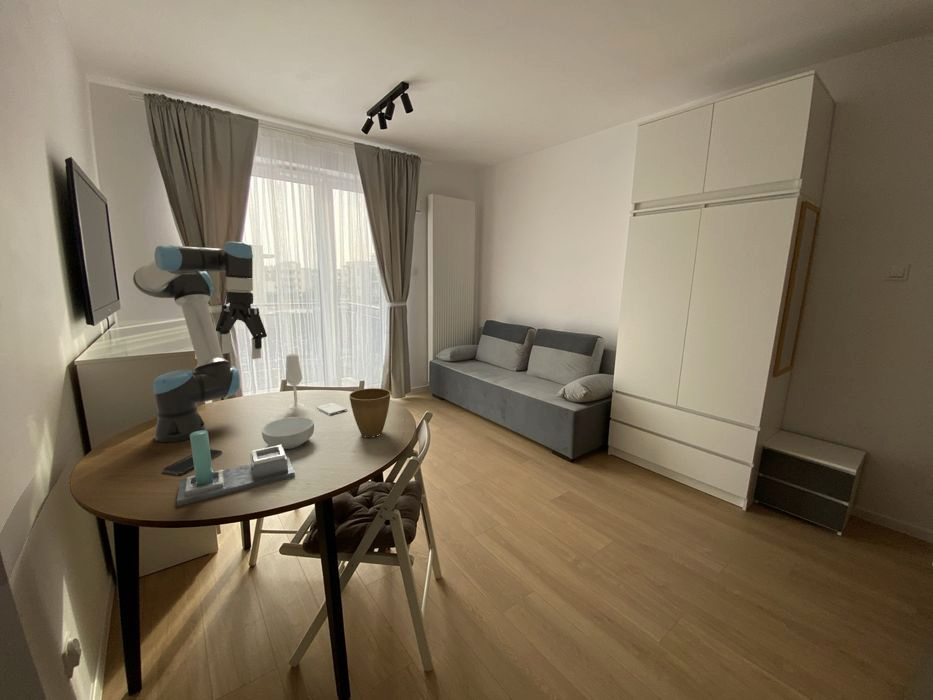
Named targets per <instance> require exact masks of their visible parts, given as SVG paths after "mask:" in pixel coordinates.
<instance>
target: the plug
mask: <svg viewBox="0 0 933 700" xmlns="http://www.w3.org/2000/svg"><path fill="white" fill-rule="evenodd" d="M189 440H190V447H191V448H190V449H191V455H193V463H194V476H195V477H196V484H197V487H199V486H203V485H208V484H212V483H214V477H213V463H212V460H211V454H210V449H211V448H210V437H209V431H208V430H201V431H196V432H193V433H191V434H190V439H189Z"/></svg>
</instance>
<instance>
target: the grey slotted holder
mask: <svg viewBox="0 0 933 700" xmlns="http://www.w3.org/2000/svg"><path fill="white" fill-rule="evenodd" d="M249 456H250V464H246V465H242V466H238V467H237V466H236V467H233V468H229V469H228V468H227V469H224V470H223V469H219V470H214V471H213V477H214V483H212V484H208V485H203V486H199V487H197V484H196V477H195V475H191V476H186V478H182V479H180V480H179V486H178V492H177V498H176V506H177V507H181V506H184V505H188V504H189V505H190V504H192V503H196V502H200V501H205V500H209V499H212V498H215V497H221V496H225V495H228V494H232V493H235V492H240V491H244V490H248V489H251V488H256V487H260V486H263V485H268V484H271V483H276V482H279V481H284V480H287V479H292V478H295V475H296V474H295V472H296V471H295V470H294V467H293V465H292V462H291V459H290V457H289V455H286V452H285V449H283V447H282V446H281V445H277V446H272V447H271V446H268V447H263V448H262V447H261V448H259V449H254V450H251V454H250V455H249Z"/></svg>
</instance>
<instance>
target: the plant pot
mask: <svg viewBox="0 0 933 700" xmlns="http://www.w3.org/2000/svg"><path fill="white" fill-rule="evenodd" d="M348 397H349V402H350V406H351V410H352V413H353V417H354V421H355V424H356V426H357V428H358V431H359V433H360V435H361V436H362V437H363V436H366V437H373V436H377V435H379V434H381V435H382V433H383V431H384V427H385V424H386V420H387V417H388V413H389V407H390V401H391V400H390V399H391V391H390V390H388V389H385V388H377V387H376V388H374V387H372V388H362V389H357V390H354V391H352V392H350V393H349V395H348ZM379 436H380V435H379ZM366 437H365V438H366ZM377 437H378V436H377ZM373 438H374V437H373Z"/></svg>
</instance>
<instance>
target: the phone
mask: <svg viewBox="0 0 933 700" xmlns="http://www.w3.org/2000/svg"><path fill="white" fill-rule="evenodd" d="M210 454H211V461H212V460H214V459H215V458H217V457H220V456H222V454H223V451H222V450H219V449H211V448H210ZM193 469H194V463H193V455H192V454H190V455H188V456H186V457H185V458H183V459H181V460H178V461H176V462H174V463H172V464H170V465H168V466H166V467H165V468H163V469H162V473H163V472H164V473H163V474H167V473H169V474H168V475H174V474H177V475H176V476H184V475H186V474H188V473H189V471H190V472H191V470H192V471H193ZM183 474H184V475H183Z"/></svg>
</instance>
